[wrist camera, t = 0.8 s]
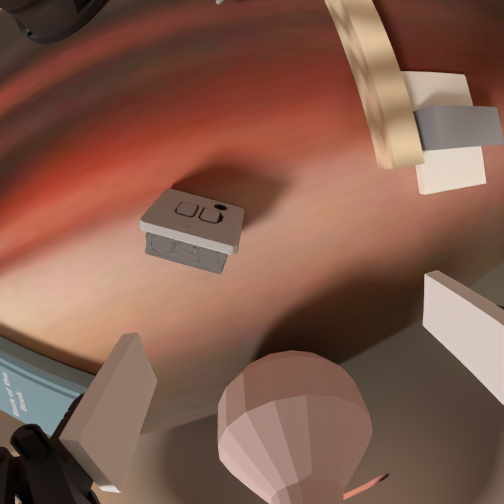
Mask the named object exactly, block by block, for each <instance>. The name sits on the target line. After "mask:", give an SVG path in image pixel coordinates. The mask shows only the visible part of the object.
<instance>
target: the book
mask: <svg viewBox="0 0 504 504" xmlns="http://www.w3.org/2000/svg"><path fill="white" fill-rule="evenodd" d="M95 377H96V376H94V375H92V374H89V373H86V372H83V371H80V370H77V369H75V368H72V367H69V366H67V365H64V364H62V363H59V362H57V361H54V360H52V359H49V358H47V357H44V356H42V355H40V354H37V353H35V352H33V351H31V350H28V349H26V348H24V347H22V346H20V345H18V344H16V343H13V342H11V341H9V340H7V339H5V338H3V337H1V336H0V409H1V410H3V411H4V412H6V413H8V414H9V415H11V416H13V417H15V418H17V419H18V420H20V421H22V422H24V423H26V424H37V425H39V426H40V427H41V429H42V430H43V432H44V433H46V434H48V435H50V436H52V434H53V433H54V431H55V429H56V428H57V426H58V424H59V423H60V421H61V419H63V416H64V415H65V413H66V412H68V411H67V410H68V408H69V406H70V405H71V403H72V402H73V401H74V400H75V399H76V398H77V397H78V396H79V395H80V394H82V393H86V391H87V390H88V388H89V386H90V385H91V383H92V381H93V380H94V378H95Z"/></svg>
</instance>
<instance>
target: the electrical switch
mask: <svg viewBox="0 0 504 504" xmlns="http://www.w3.org/2000/svg"><path fill="white" fill-rule="evenodd" d="M244 212H245V210H244V209H242V208H241V207H238V206H234V205H231V204H227V203H223V202H220V201H216V200H212V199H208V198H205V197H201V196H197V195H193V194H190V193H186V192H182V191H178V190H174V189H166V190H165V191H164V192H163V194H162V195H161V196H160V197H159V198H158V199H157V200H156V201H155V202H154V204H153V205H152V206H151V207H150V208H149V209H148V210H147V211H146V213H145V214H144V215H143V216H142V217H141V220H140V225H139V226H140V230H143V231H147V234H146V242H147V243H146V251H145V252H146V253H145V254H149V255H152V256H156V257H159V258H163V259H166V260H170V261H174V262H177V263H181V264H184V265H188V266H192V267H195V268H199V269H203V270H206V271H210V272H214V273H217V274H221V271H222V270H223V267H224V264H225V262H226V259H227V255H228V254H230V255H232V254H236V253H237V251H238V247H239V241H240V235H241V229H242V223H243V217H244ZM170 240H171V241H172V242H171V241H170ZM177 242H179V243H177ZM152 246H153V248H152ZM194 246H195V247H194ZM176 247H177V248H176ZM175 249H176V250H175ZM171 250H172V251H171ZM195 250H196V252H195V255H194V251H195ZM161 254H162V255H161Z"/></svg>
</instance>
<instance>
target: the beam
mask: <svg viewBox="0 0 504 504" xmlns="http://www.w3.org/2000/svg"><path fill="white" fill-rule="evenodd" d="M325 2H326V5H327V7H328V9H329V12H330V14H331V16H332V19H333V21H334V24H335V26H336V29H337V31H338V34H339V36H340V39H341V41H342V44H343V47H344V49H345V52H346V55H347V58H348V61H349V63H350V66H351V69H352V72H353V75H354V78H355V81H356V85H357V88H358V91H359V94H360V98H361V101H362V104H363V108H364V111H365V115H366V119H367V122H368V126H369V130H370V134H371V138H372V142H373V146H374V150H375V154H376V159H377V163H378V168H379V169H399V168H404V167H410V166H415V165H420V164H425V162H424V157H423V152H422V148H421V143H420V139H419V134H418V130H417V126H416V122H415V118H414V114H413V111H412V107H411V103H410V100H409V96H408V93H407V90H406V87H405V83H404V80H403V77H402V74H401V71H400V68H399V65H398V62H397V60H396V57H395V54H394V51H393V49H392V46H391V44H390V41H389V38H388V36H387V34H386V31H385V29H384V26H383V24H382V22H381V19H380V17H379V15H378V13H377V10H376V8H375V6H374V4H373V2H372V0H325Z"/></svg>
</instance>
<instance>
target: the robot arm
mask: <svg viewBox="0 0 504 504" xmlns="http://www.w3.org/2000/svg"><path fill="white" fill-rule="evenodd" d="M104 2H105V0H0V8H2V9H3V10H5V11H7V12H9V13H10V14H12V16H13V18H14V20H15V21H16V23H17V25H18V27H19V28H20V30H21V32H22V33H23V35H24V36H25V37H27V38H28V39H30V40H32V41H34V42H36V43H39V44H49V43H53V42H57V41H59V40H62V39H64V38H66V37H68V36H69V35H71V34H73V33H74V32H76V31H77V30H78V29H80V28H81V27H82V26H83V25H85V24H86V23H87V22H88V21H89V20H90V19H91V18H92V17H93V16H94V15H95V14H96V13H97V11H98V10H99V9H100V7H101V6H102V5H103V3H104ZM423 326H424V327H425V328H426V329H427V330H428V331H429V332H430V333H431V334H433V335H434V336H435V337H436V338H437V339H438V340H439V341H440V342H441V343H442V344H443V345H444V346H445V347H446V348H447V349H448V350H449V351H450V352H452V354H454V355H455V356H456V357H457V358H458V359H459V360H460V361H461V362H462V363H463V364H464V365H465V366H466V367H467V368H468V369H469V370H470V371H471V372H472V373H473V374H474V375H475V376H476V377H477V378H478V379H479V380H480V381H481V382H482V383H483V384H484V385H485V386H486V387H487V388H488V389H489V390H490V391H491V392H492V393H493V395H495V397H497V399H498V400H499V401H500V402H501V403H502V404H504V307H502V306H499V305H495V304H493V303H492V302H490V301H489V300H487V299H485V298H484V297H482V296H481V295H479V294H477V293H476V292H474V291H472V290H471V289H469V288H467V287H466V286H464V285H462V284H461V283H459V282H457V281H455V280H454V279H452V278H450V277H448V276H447V275H445V274H443V273H441V272H440V271H438V270H436V271H432V272H429V273H425V280H424V314H423ZM156 384H157V379H156V377H155V375H154V372H153V370H152V368H151V365H150V363H149V360H148V358H147V356H146V353H145V351H144V348H143V346H142V343H141V340H140V338H139V335H138V333H130V334H123V335H122V336H121V338H120V339H119V341H118V342H117V344H116V345H115V347H114V348H113V350H112V352H111V353H110V355H109V356H108V358H107V359H106V361H105V362H104V364H103V366H102V367H101V369H100V370H99V372H98V373H97V375H96V377H95V378H94V380H93V381H92V383H91V385H90V386H89V388H88V390H87V391H86V393H82V394H80V395H79V396H78V397H77V398H76V399H75V400H74V401H73V402H72V403H71V405H70V406H69V408H68V410H67V411H68V412H66V413H65V415H64V416H63V419H61V421H60V423H59V424H58V426H57V428H56V429H55V431H54V433H53V434H52V436H51V438H50V440H49V438H48V437H47V436H46V434H45V433H44V432H43V430H42V429H41V427H40V426H39V425H37V424H26V425H23V426H21V427H20V428H18V429H17V430H16V431H15V432H14V433H13V435H12V437H11V440H10V443H11V445H12V446H13V447H14V449H15V450H16V451H17V452H18V453H19V455H20V456H18V457H13V455H12V454H11V453H10V452H9V451H8V449H7V448H5V447H0V504H15V499H16V500H17V501H18V502H19V504H100V502H99V500H98V498H97V496H96V494H95V493H94V492H93V490H91V486H92V483H93V481H94V482H95V483H96V484H97V485H98V487H99V488H100V489H101V490H103V491H110V492H118V493H121V491H122V487H123V484H124V480H125V477H126V474H127V471H128V468H129V465H130V461H131V458H132V455H133V452H134V449H135V446H136V443H137V439H138V437H139V434H140V431H141V428H142V425H143V422H144V419H145V416H146V413H147V410H148V407H149V404H150V401H151V398H152V395H153V392H154V390H155V387H156Z"/></svg>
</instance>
